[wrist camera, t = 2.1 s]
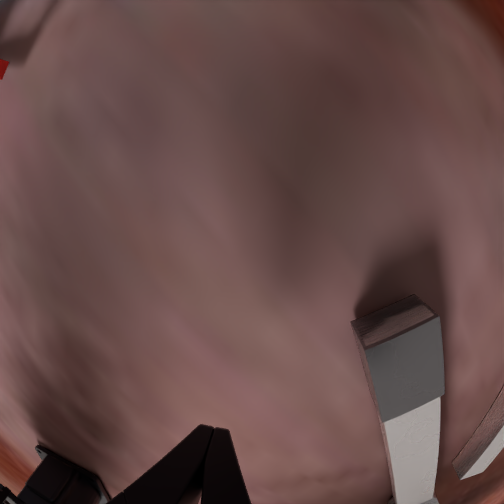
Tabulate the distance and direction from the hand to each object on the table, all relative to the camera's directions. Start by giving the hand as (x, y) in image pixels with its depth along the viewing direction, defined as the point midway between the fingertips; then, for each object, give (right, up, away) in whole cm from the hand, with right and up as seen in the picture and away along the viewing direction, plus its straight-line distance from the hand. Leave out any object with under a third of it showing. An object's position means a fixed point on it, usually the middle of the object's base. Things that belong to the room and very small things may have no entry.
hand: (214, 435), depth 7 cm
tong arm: (+9, -5, +4) cm, 11 cm away
